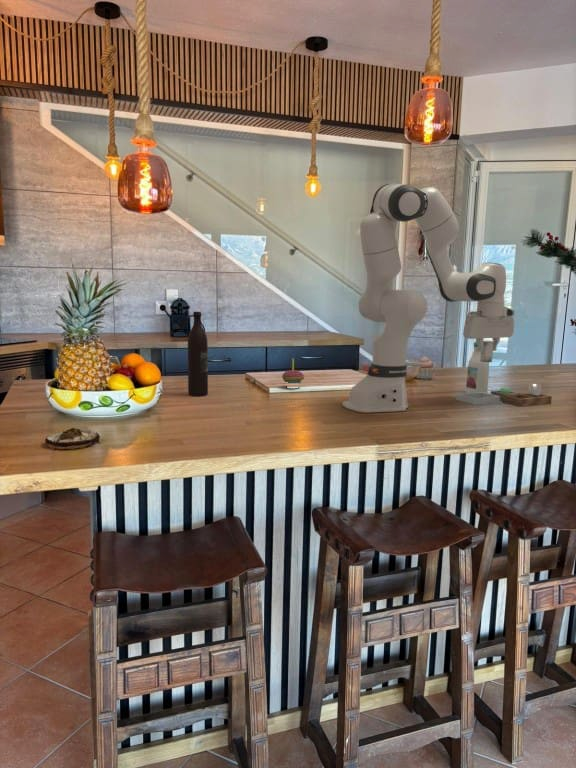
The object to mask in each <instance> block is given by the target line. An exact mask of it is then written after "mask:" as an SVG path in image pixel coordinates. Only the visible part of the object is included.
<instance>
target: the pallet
mask: <svg viewBox="0 0 576 768" xmlns="http://www.w3.org/2000/svg"><path fill="white" fill-rule="evenodd" d="M552 397H553V396H551V395H547V394H543V393H541V395H540V397H532V396H528V392H523V393H522V392H521V393H520V394H510V395H503V396H502V401H501V403H503V404H507V405H512V406H515V407H519V408H521V407H530V406H531V407H532V406H541V405H542V406H543V405H552Z"/></svg>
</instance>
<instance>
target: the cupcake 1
mask: <svg viewBox="0 0 576 768" xmlns="http://www.w3.org/2000/svg"><path fill="white" fill-rule="evenodd" d="M291 362H292V363H291V370H289V369H288V370H285V372H283V373H282V377H281V378H282V380H283V381H284V383H285V382H288V383H300V384H301V382H302V380H304V379H305V376H304V375H305V374H303V372H301V371H300V370H295V359H294V358H292V359H291Z"/></svg>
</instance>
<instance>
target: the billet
mask: <svg viewBox="0 0 576 768" xmlns="http://www.w3.org/2000/svg"><path fill="white" fill-rule="evenodd" d="M482 343H483V346H485V351H482V352H481V355H480V362H489V363H492V362H493V355H494V351H493V344H494V342H493V340H491V341H490V340H483V342H482Z"/></svg>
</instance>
